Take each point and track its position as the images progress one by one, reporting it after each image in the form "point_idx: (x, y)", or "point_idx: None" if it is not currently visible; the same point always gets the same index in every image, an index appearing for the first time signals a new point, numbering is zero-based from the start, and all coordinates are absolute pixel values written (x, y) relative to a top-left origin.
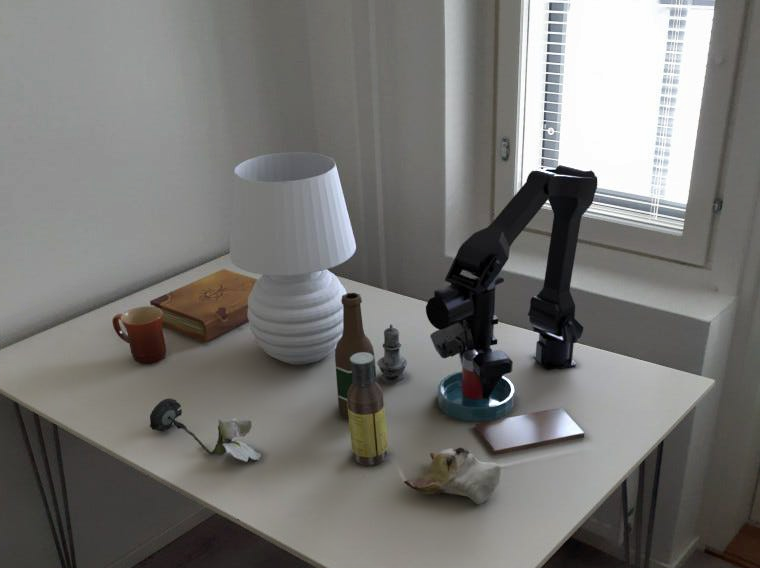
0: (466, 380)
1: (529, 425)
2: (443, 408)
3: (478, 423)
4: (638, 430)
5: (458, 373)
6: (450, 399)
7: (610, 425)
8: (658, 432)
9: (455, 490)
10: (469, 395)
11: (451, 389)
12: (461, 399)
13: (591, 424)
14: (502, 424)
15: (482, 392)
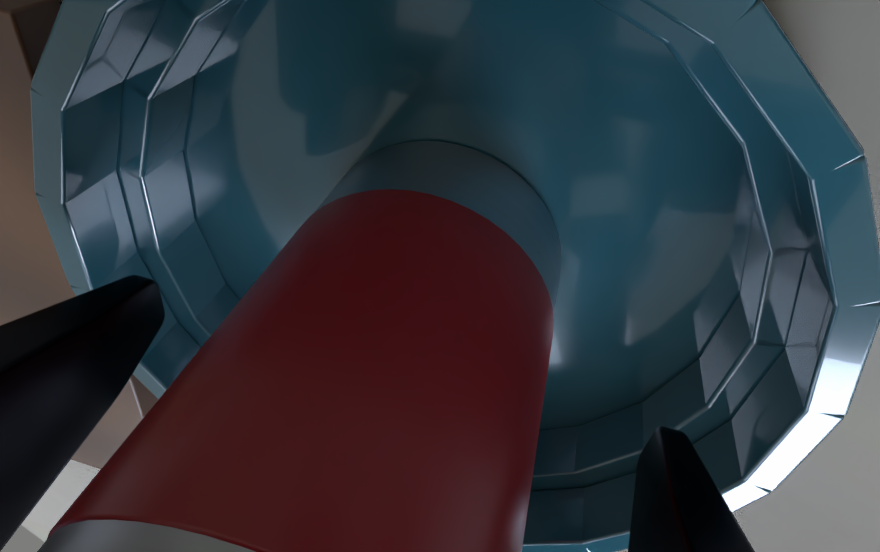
0: (252, 340)
1: (5, 309)
2: None
3: (20, 45)
4: (44, 516)
5: (803, 408)
6: (608, 89)
7: (77, 496)
8: (34, 532)
9: None
10: (313, 223)
11: (753, 206)
12: (539, 181)
13: (87, 470)
14: (9, 197)
15: (48, 311)
